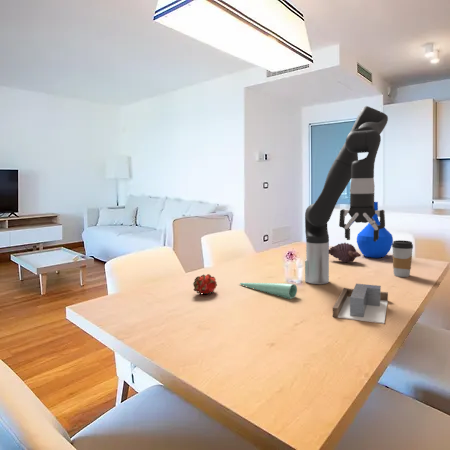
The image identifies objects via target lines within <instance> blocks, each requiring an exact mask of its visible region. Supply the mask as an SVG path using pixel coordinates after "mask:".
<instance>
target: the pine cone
mask: <svg viewBox="0 0 450 450" xmlns="http://www.w3.org/2000/svg"><path fill="white" fill-rule="evenodd" d="M361 254H362V253H360V252H358V251H357V249H356V248H355V247H354V245H353V244H351V243H348V242H347V243H346V242H344V243H343V242H341V243H338V244H337V245H334V246H331V247H329V255H331V256H333V257H334V258H335V259H338V261H341V262H343V263H350V262H354V260H355V259H356V258H360V257H361Z"/></svg>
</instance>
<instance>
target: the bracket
mask: <svg viewBox="0 0 450 450" xmlns="http://www.w3.org/2000/svg"><path fill="white" fill-rule="evenodd" d="M381 288H382V287H381V285H376V284H363V283H355V285H354V287H353V289H354V290H353V292H352V294H351V296H350V316H357V317H364V314H365V310H366V307H367V305H371V306H380V299H381V292H382V291H381V290H382V289H381Z"/></svg>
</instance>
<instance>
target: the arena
mask: <svg viewBox="0 0 450 450" xmlns="http://www.w3.org/2000/svg"><path fill="white" fill-rule="evenodd" d="M353 290H354V288H348V287H344V288H343V289H342V290H341V292H340V294H339V296H338V297H337V300H336V301H335V303H334V305H333V307H332V317H333V318H338V315H339V312H340V310H341V308H342V306H343V304H344V302H345V300H346V298H347V296H348V297H350V296H351V294H352V292H353ZM380 300H385V301H389V292H387V291H381V299H380Z"/></svg>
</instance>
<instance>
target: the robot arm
mask: <svg viewBox="0 0 450 450" xmlns="http://www.w3.org/2000/svg"><path fill="white" fill-rule="evenodd" d="M388 121H389V118H388V115H387V114H386V113H384V112H383V111H379V110H378V109H375V108H373V107H370V106H367V105H366V106H364V107H362V109H361V111H359V113H358V115H357V117H356V119H355V122H353V126H352V128H351V130H350V132H349V133H348V134H347V136H346V138H345V142H344V144H343V145H342V147H341V148H340V150H339V152H338V154H337V156H336V157H335V159H334V161H333V163H332V164H331V167H330V168H329V170H328V173H327V176H326V179H325V182H324V186H323V188H322V191H321V193H320V194H319V196H318V198H317V199H316V200H315V201H314V203H311V204H309V206H307V208H306V209H305V214H304V221H305V222H304V224H305V225H304V228H305V229H304V230H305V231H304V232H305V245H306V247H305V248H306V249H305V251H306V255H305V256H306V259H305V260H304V283H309V284H311V285H313V284H314V285H326V284H328V283H329V281H330V278H329V277H330V276H329V275H330V271H329V270H330V268H329V267H330V265H329V264H330V261H329V259H330V254H329V249H330V247H329V246H330V239H329V238H330V236H329V231H328V222H329V221H330V220H331V216H332V215H333V212H334V211H335V208H336V205H337V203H338V201H339V199H340V198H341V196H342V194H343V193H344V192H345V189H346V187H347V186H348V185H349V183H350V186H349V187H350V189H349V192H350V194H349V195H350V196H349V209H344V208H343V209H342V208H341V209H340V211H339V223H338V227H340V228H343V229H344V239H346V240H347V241H350V240H351V228H350V227H351V226H353V224H354V223H357V224H358V223H363V224H368V223H370V225H372V227H373V228H374V241H377V240H378V238H379V229H382V228H384V227H385V228H386V217H385V216H386V215H385V209H378V210H376V211H375V209H374V202H375V162H376V157H377V154H378V151H379V148H380V145H381V140H382V139H381V138H382V137H381V133H383V131H384V129H385V127H386V126H387V123H388ZM363 153H367V155H366V156H365V157H364V158H362V159H359V154H363ZM375 214H377V216H378V218H379V221H380V225H377V224H376V222H375V221H374V219H373V218H372V217H373V216H374V215H375ZM347 215H348V216H350V219H349V220H348V221H347V223H345V219H346V216H347Z"/></svg>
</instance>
